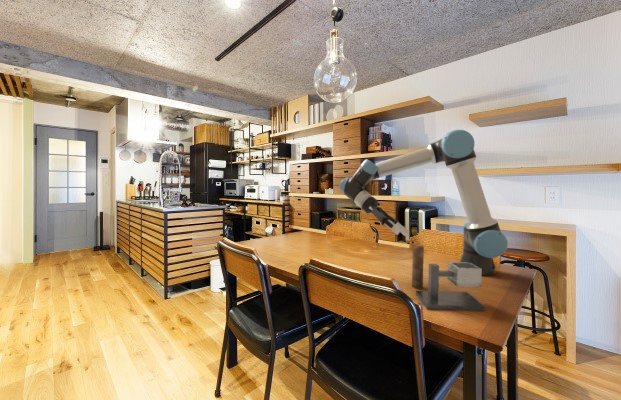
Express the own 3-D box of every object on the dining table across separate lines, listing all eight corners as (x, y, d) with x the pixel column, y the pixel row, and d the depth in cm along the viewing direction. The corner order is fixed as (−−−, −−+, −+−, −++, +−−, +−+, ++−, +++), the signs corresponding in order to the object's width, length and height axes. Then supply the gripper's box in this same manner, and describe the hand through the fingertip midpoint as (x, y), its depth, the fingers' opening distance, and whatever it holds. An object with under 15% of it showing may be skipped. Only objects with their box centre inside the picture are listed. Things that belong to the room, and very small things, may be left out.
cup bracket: (466, 295, 103) (467, 260, 102) (484, 310, 91) (486, 271, 90) (415, 294, 104) (416, 259, 103) (426, 309, 92) (427, 269, 91)
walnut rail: (420, 285, 114) (421, 245, 113) (424, 288, 110) (425, 248, 109) (410, 284, 114) (411, 245, 113) (413, 288, 110) (414, 247, 109)
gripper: (370, 211, 140) (404, 240, 129) (350, 205, 119) (389, 239, 108) (380, 200, 138) (415, 228, 128) (361, 191, 117) (401, 224, 107)
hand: (403, 233), depth 118 cm, fingers open, 13 cm apart
